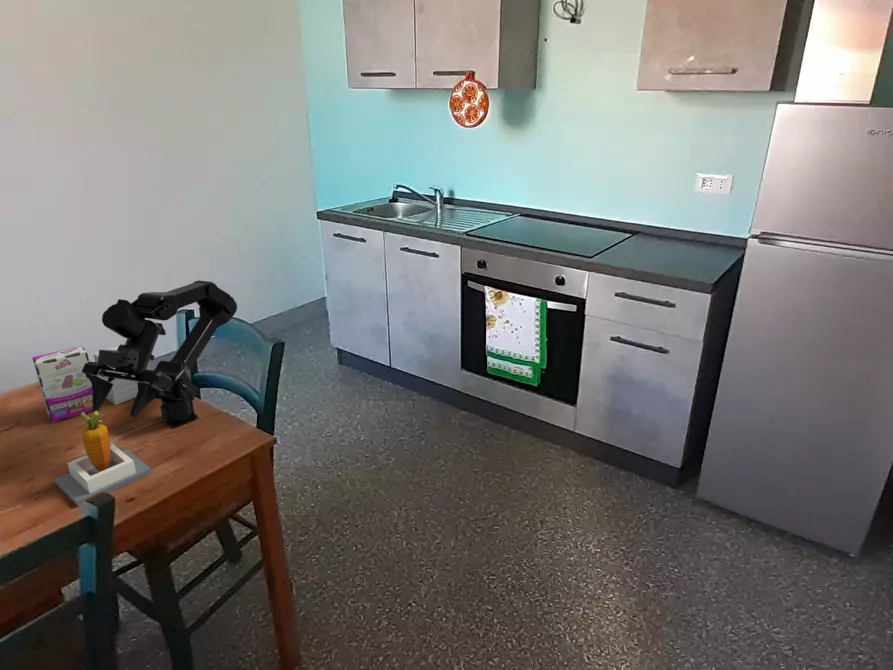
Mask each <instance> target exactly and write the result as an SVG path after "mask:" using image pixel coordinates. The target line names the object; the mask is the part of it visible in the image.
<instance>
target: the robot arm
mask: <svg viewBox="0 0 893 670" xmlns="http://www.w3.org/2000/svg"><path fill="white" fill-rule="evenodd" d="M194 303H196V304H197V305H198V312H199V318H198V320H197V322H196V323H195V324H194V326H193V327H192V329H191V330H190V332H189V333H188V334H187V336H186V338H185V339H184V341H183V342H182V343H181V345H180V346H179V348H178V350H177V351H176V353H175V354H174V356H173V357H172V358H171V360H160V361H159V362H158V363H157V365H156V367H155V369H154V370H151V369H147V367H148V364H149V361H154V359H155V357H156V356H155V355H154V354H153V351H154V348H155V345H156V343H157V340H158V338H159V335H160V336H166V335H167V332H166V330H165V328H164V326H163V323H161V322H154V321H153V320H156V321H168V320H170V319H171V318H173V317H174V316H176V315H177V314H178V311H179V309H181V308H185V307H186V306H189V305H191V304H194ZM237 310H238V303H237V302H236V300H235V298H233V296H231V295H230V294H229V293H228V292H226V291H225V290H223V289H221V288H220V287H218V286H217V285H216V283H214V282H212V281H208V280H201V279H200V280H195V281H193V282H192V283H189V284H186V285H184V286H180V287H176V288H174V289H172V290H168V291H163V292H162V291H159V292H158V291H156V292H155V291H154V292H153V291H151V292H142V293H141V294H139V295H138V296H137V298H136V299H135V300H134V301H131V302H130V301H129V300H127V299H121V298H119V299H117V302H116V303H115V304H111V306H109V307H107V309H106V310H105V311H104V312H103V314H102V317H101V323H102V325H104V327H105V328H107V329H109V330H111V331H112V332H114V333H116V334H118V335H119V336H121V337H122V338H125V339H126V341H125V342H124V344H119V345H120V346H119V345H118V346H119V347H118V349H117V350H106V349H98V352H99V355H98V362H95V361H90V360H89V362H87V363H86V364H85V365H84V367H83V369H82V373H84V374H86V378H88V379H89V380H90V382H91V384H92V390H93V411H94V412H95V411H98V412H99V411H100V410H101V409H100V408H101V407H102V405H103V404H104V402H105V401H106V399H107V398H106V397H107V395H108V393H109V392H110V390H111V388H112V386H113V384H112V383H110V382H111V381H113V380H114V379H115V378H117V379H123V380H130V381H136V382H137V385H138V393H137V396H136V397H135V398H134V401H133V404H132V407H131V409H130V414H129V418H133V419H134V418H136V417H137V416H138V415H139V414H140V413H141V412H142V411H143V410H144V409H145V408H146V407H147V406H148V405H149V404H150V403H151V402H153V401H154V400H155V399H158V400H161V401H160V402H161V405H160V407H159V408H160V412H161V417H160V418H161V420H162V421H163V422H165V423H166V424H167V425H169V426H171V427H172V428H174V429H175V428H177V427H180V426H183V425H184V424H187V423H189V422H193V421H194V420H196V419H197V420H198V419H199V415H198V414H196V413H195V409H194V401H193V400H195V397H196V396H197V394H198V386H197V385H195V384H193V383H192V374H191V370H192V369H193V367H194V365H195V364H196V362H197V361H198V359H199V357H200V356H201V355H202V353H203V351H204V349H205V348H206V346H207V344H208V343H209V342H210V340H211V338H212V337H213V336H214V333H215V332H216V330H217V329H218V328H220V327H222V326H223V325H225V324H227V323H229V322H230V321H231V320H232V318H233V317H234V316H235V315H236V312H237ZM107 365H108V366H107ZM111 367H113V368H115V369H113V368H111ZM123 375H125V376H123ZM131 375H132V376H135V377H132V376H131ZM99 409H100V410H99Z"/></svg>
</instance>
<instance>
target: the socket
mask: <svg viewBox="0 0 893 670" xmlns="http://www.w3.org/2000/svg"><path fill="white" fill-rule="evenodd" d="M67 467H68V470H69V473H67V474H64V475H62V476H60V477H57V478H55V479H54V482H55V485H56V486H57V487H58V489H60V490H61V491H62V492H63V493H64V494H65V495H66V496H67V497H68V498H69V499H70V500H71V502H73V504H74V505H75V506H77V507H81V506H83V505H82V503H83V502H84V501H85V500H86V499H88V498H90V497H92V496H94V495H95V494H98V493H101V492H106V493H107V494H109V493H111V492H114V491H116V490H118V489H120V488H122V487H124V486H127V485H129V484H131V483H134V482H136V481H138V480H140V479H142V478H144V477H146V476H149V475H151V474H152V473H153V472H152V468H151V467H150V466H149V465H147V464H146V463H145V462H143V461H142V460H141V459H140V458H139V457H137V456H136V455H135V454H134V453H132V452H131V451H130V450H128V449H127V448H126V449H123V450H121V449H119V448H118V447H117V446H116V445H115V444H111V445H110V463H109V467H108V469H106V470H104V471H101V472H99V471H98V470H97V469H96V468H95V467H94V466H93V465H92V463H91V461H90V459H89V457H88V455H87V454H85V455H84V456H81V457H78V458H76V459H74V460H71V461H69V462H67Z"/></svg>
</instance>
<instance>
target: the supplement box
mask: <svg viewBox="0 0 893 670" xmlns="http://www.w3.org/2000/svg"><path fill="white" fill-rule="evenodd" d="M119 346H120V344H119V345H116V346H113V347H110V348H107V349H105V350H117V349H118V347H119ZM92 355H93V359H94V362H98V355H99V351H97V352H94V353H93V354H92ZM107 366H108V365H107ZM111 368H113V367H111ZM113 369H115V368H113ZM123 376H125V375H123ZM131 376H132V375H131ZM132 377H135V376H132ZM110 383H112V384H113V386H112V388H111V390H110V392H109V393H108V395H107V397H106V399H107V400H108V401H109V402H111V403H112V404H114V405H120V404H122V403H124V402H127V401H130V400H133V399H136V396H137V393H138V385H137V382H136V381H130V380H123V379H117V378H115V379H114V380H113V381H111V382H110Z"/></svg>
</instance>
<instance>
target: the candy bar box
mask: <svg viewBox="0 0 893 670" xmlns="http://www.w3.org/2000/svg"><path fill="white" fill-rule="evenodd" d="M89 361H90V359H89V354H88V351H87V349H85V347H84V345H79V346H74V347H70V348H65V349H62V350H61V349H60V350H57V351H53V352H48V353H44V354H40V355H36V356H32V362H33V365H34V368H35V373H36V376H37V380H38V384H39V388H40V392H41V394H42V398H43V401H44V405H45V408H46V411H47V415H48V417H49V418H48V419H49V420H50V423H51V424H55V423H57V422H63V421H65V420H69V419H73V418H76V417H80V416H81V413H83V412H84V413H85V415H86V414H90V413H92V412H93V413H94V412H95V411H93V390H92V384H91V382H90V380H89V379H88V378H86V374H84V373H82V369H83V367H84V365H85V364H86V363H87V362H89ZM98 411H101V407H100V409H99V410H98Z"/></svg>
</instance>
